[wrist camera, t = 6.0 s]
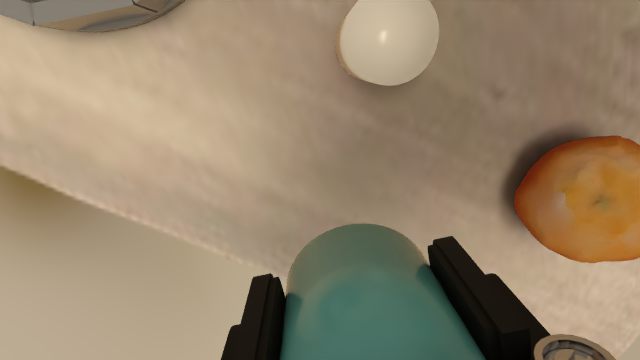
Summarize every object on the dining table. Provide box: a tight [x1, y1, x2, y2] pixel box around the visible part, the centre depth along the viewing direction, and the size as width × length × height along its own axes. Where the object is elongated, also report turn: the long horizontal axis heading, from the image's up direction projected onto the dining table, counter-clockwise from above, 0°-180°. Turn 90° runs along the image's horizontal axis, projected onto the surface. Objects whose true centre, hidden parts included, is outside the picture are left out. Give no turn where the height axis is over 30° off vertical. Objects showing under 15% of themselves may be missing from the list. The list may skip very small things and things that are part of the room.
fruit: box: [514, 136, 640, 263], centre depth 24 cm, size 8×8×8 cm
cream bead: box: [335, 0, 439, 86], centre depth 20 cm, size 5×5×6 cm
